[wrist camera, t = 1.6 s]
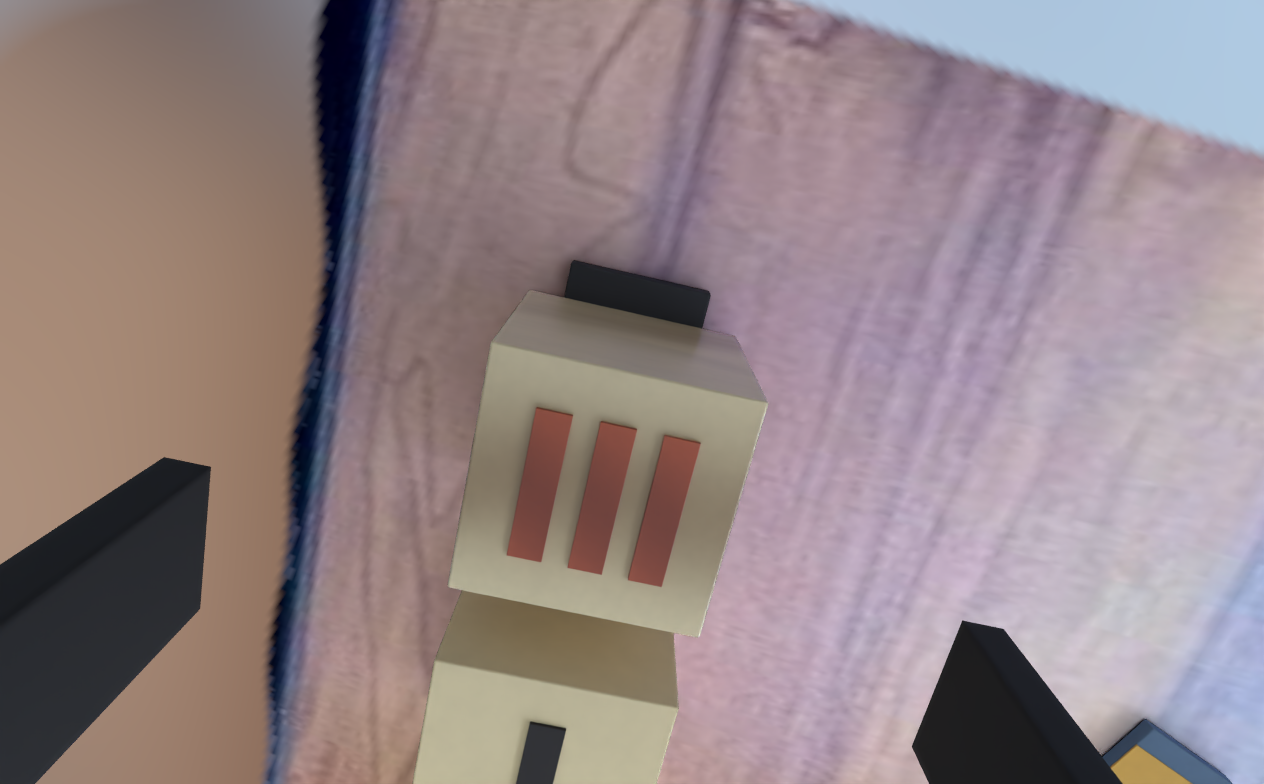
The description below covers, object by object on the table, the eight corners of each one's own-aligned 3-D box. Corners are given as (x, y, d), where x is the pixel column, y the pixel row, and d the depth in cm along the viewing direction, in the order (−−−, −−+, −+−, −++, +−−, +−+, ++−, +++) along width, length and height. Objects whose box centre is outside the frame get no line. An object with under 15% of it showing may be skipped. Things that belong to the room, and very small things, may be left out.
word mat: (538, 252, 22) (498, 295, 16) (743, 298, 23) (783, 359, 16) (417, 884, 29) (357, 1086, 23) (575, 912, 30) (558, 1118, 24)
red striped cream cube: (529, 289, 22) (489, 342, 16) (736, 335, 22) (770, 404, 17) (492, 481, 24) (445, 590, 18) (685, 521, 24) (699, 641, 18)
